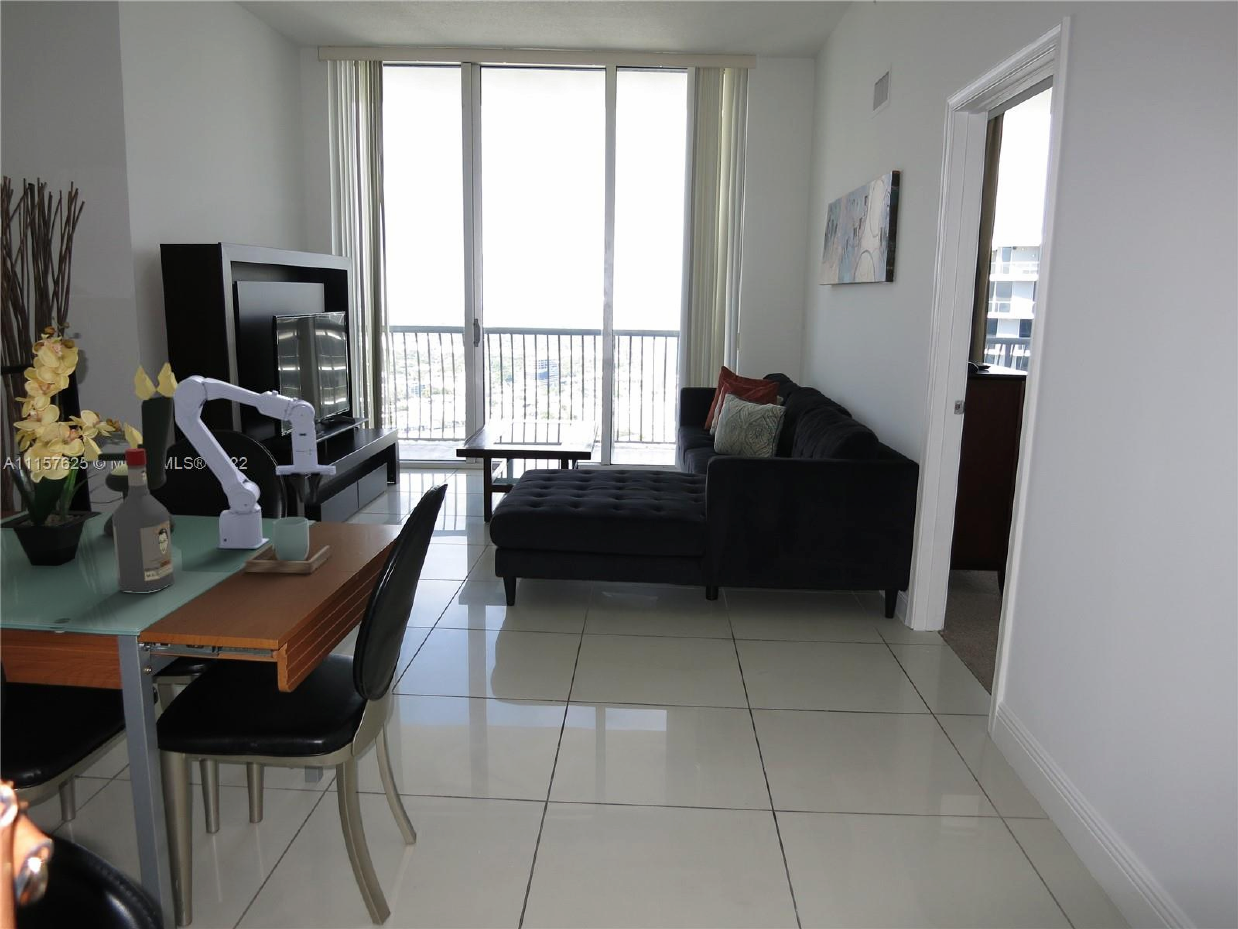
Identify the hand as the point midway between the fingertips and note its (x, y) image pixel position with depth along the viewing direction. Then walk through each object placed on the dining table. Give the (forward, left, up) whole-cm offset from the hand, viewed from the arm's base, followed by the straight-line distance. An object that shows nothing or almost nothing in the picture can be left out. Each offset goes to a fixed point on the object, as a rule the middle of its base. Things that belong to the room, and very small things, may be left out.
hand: (308, 502), depth 222 cm
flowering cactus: (-44, +6, -11) cm, 46 cm away
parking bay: (+2, -18, -10) cm, 21 cm away
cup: (+2, -17, -11) cm, 20 cm away
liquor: (-22, -37, -11) cm, 45 cm away
